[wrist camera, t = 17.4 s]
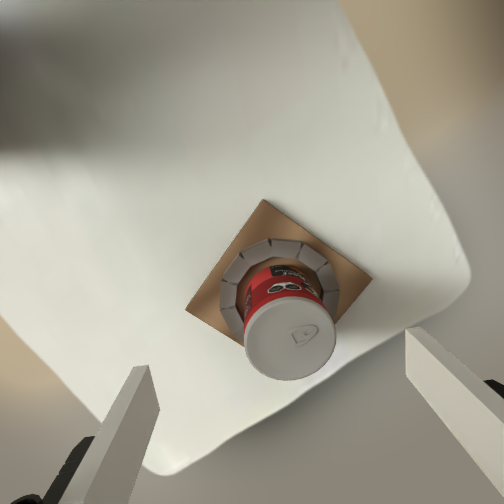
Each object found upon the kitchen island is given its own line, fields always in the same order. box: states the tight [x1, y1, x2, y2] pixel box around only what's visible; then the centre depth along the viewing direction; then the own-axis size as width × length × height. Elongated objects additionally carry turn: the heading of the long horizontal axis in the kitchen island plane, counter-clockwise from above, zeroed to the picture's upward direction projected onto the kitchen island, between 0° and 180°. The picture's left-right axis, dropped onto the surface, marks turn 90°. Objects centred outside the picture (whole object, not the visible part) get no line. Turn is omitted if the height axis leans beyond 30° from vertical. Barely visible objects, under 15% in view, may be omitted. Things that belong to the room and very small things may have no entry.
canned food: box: [244, 265, 336, 381], centre depth 31 cm, size 8×8×11 cm
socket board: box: [185, 199, 372, 347], centre depth 37 cm, size 16×16×3 cm
